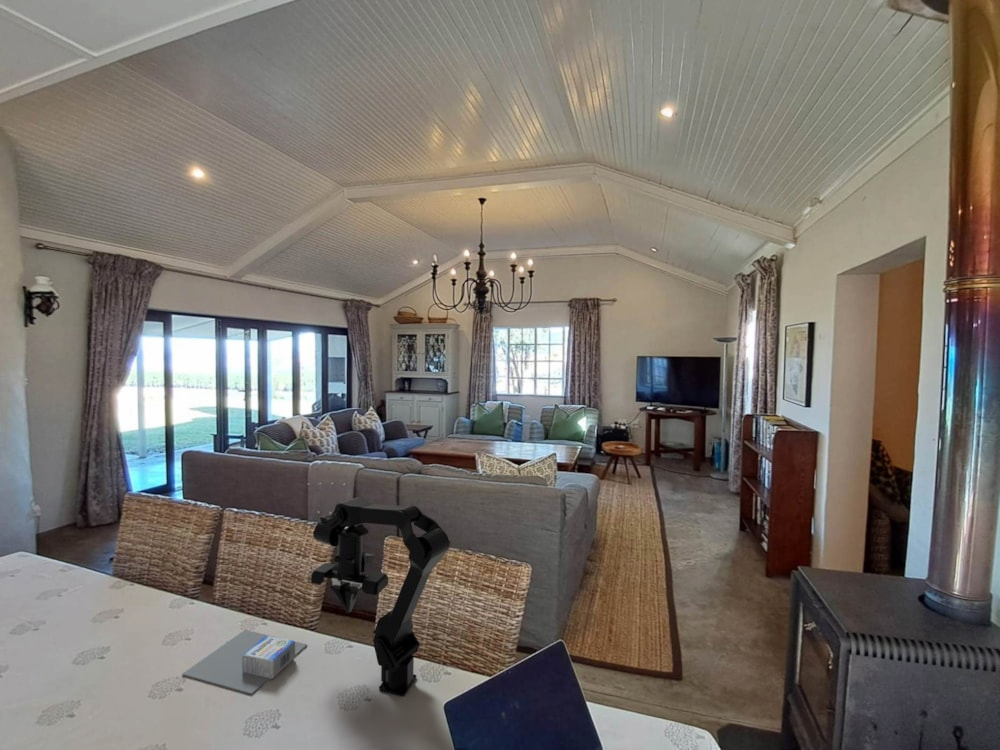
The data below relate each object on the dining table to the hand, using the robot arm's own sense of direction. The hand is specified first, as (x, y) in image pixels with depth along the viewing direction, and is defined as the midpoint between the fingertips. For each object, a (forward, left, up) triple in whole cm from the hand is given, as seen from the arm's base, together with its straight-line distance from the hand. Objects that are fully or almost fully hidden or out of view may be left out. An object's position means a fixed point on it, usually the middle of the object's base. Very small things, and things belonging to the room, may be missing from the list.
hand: (349, 611), depth 112 cm
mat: (+23, +8, -12) cm, 27 cm away
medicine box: (+12, +8, -9) cm, 17 cm away
